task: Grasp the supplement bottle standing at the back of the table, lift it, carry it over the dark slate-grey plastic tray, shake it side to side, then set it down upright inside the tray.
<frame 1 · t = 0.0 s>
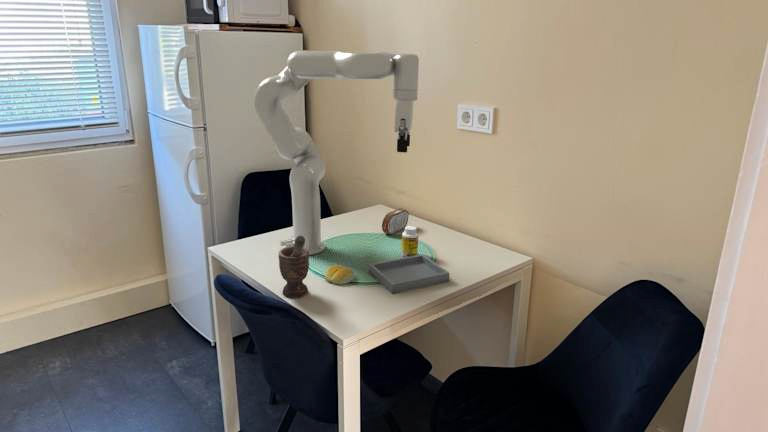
hand: (403, 148, 171), 37 cm above the table, tool pointing down, fingers open, 9 cm apart
supplement bottle: (409, 256, 183), on the table
mortar and pestle: (298, 295, 154), on the table
bread roll: (339, 279, 165), on the table
tray: (408, 277, 167), on the table
tin: (395, 231, 206), on the table
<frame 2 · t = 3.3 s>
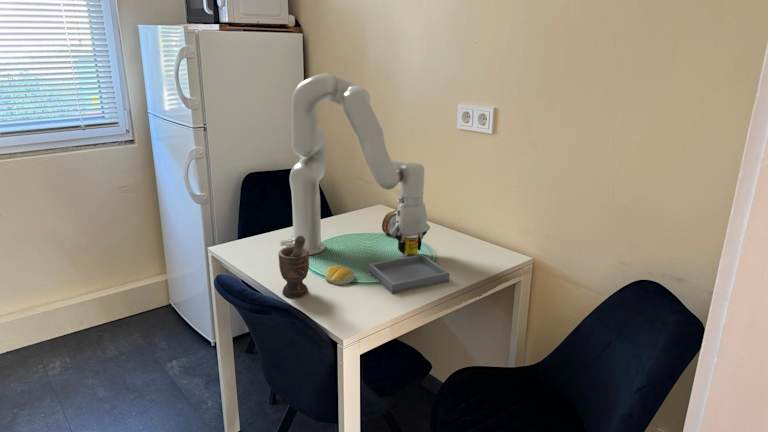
hand: (409, 249, 183), 2 cm above the table, tool pointing down, fingers closed on supplement bottle, 5 cm apart
supplement bottle: (409, 255, 183), on the table, touching gripper
everything else where it was.
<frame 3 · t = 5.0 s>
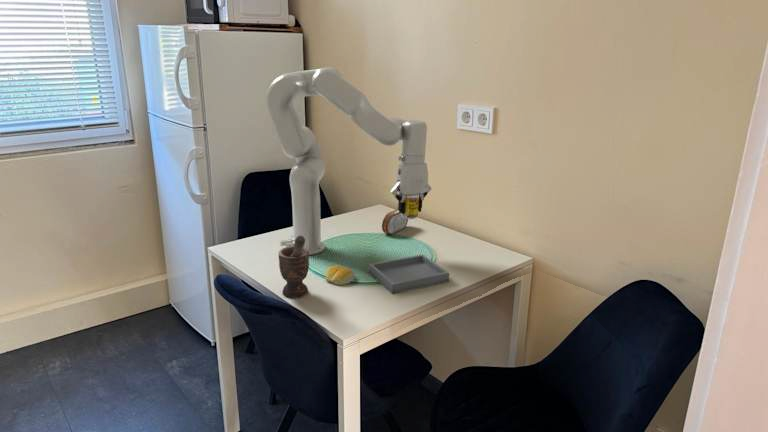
hand: (409, 211, 178), 16 cm above the table, tool pointing down, fingers closed on supplement bottle, 5 cm apart
supplement bottle: (409, 217, 179), point 14 cm above the table, touching gripper
everything else where it was.
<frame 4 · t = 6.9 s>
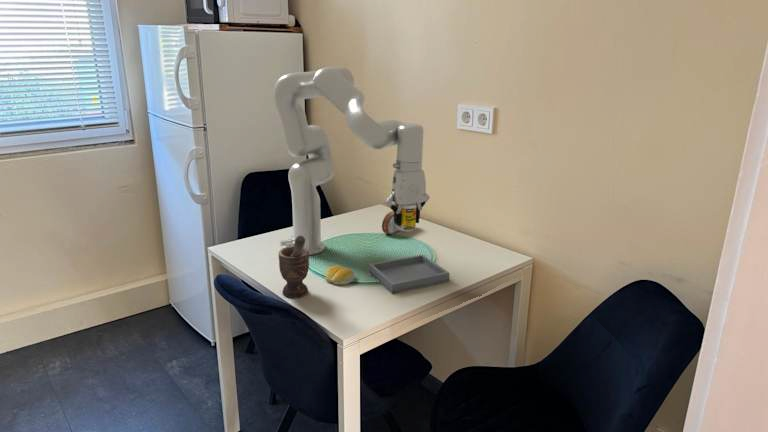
hand: (406, 222, 163), 17 cm above the table, tool pointing down, fingers closed on supplement bottle, 5 cm apart
supplement bottle: (406, 229, 164), point 15 cm above the table, touching gripper
everything else where it was.
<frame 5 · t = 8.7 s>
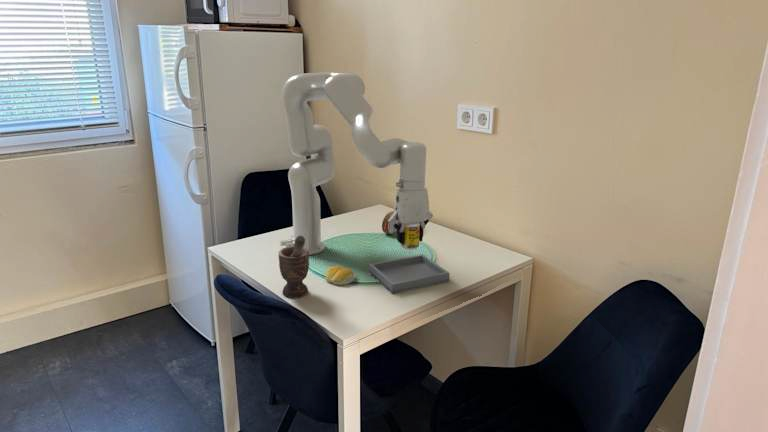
hand: (410, 240, 163), 12 cm above the table, tool pointing down, fingers closed on supplement bottle, 5 cm apart
supplement bottle: (409, 247, 163), point 10 cm above the table, touching gripper
everything else where it was.
when the fingers open (5 cm above the table, at t = 10.4 s): supplement bottle drops 2 cm, resting on tray.
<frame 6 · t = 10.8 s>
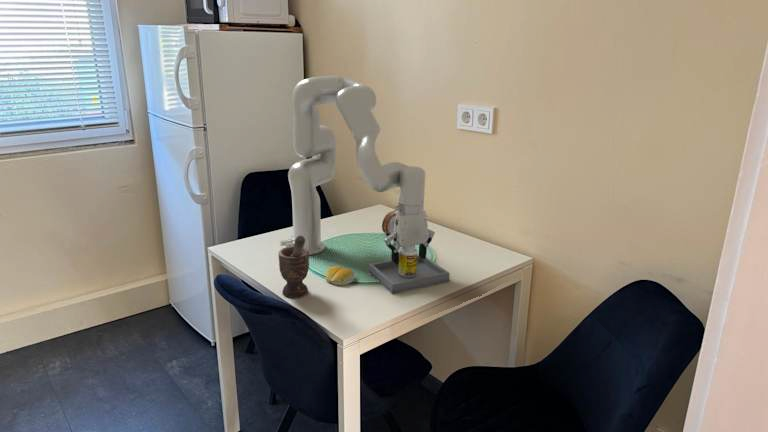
hand: (408, 260, 165), 6 cm above the table, tool pointing down, fingers open, 9 cm apart
supplement bottle: (407, 274, 166), point 1 cm above the table, touching tray
everything else where it was.
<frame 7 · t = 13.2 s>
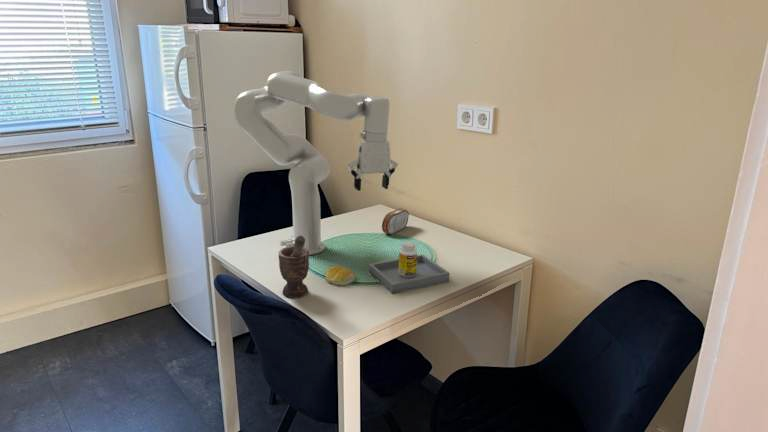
hand: (371, 188, 173), 24 cm above the table, tool pointing down, fingers open, 9 cm apart
nothing on the table moved.
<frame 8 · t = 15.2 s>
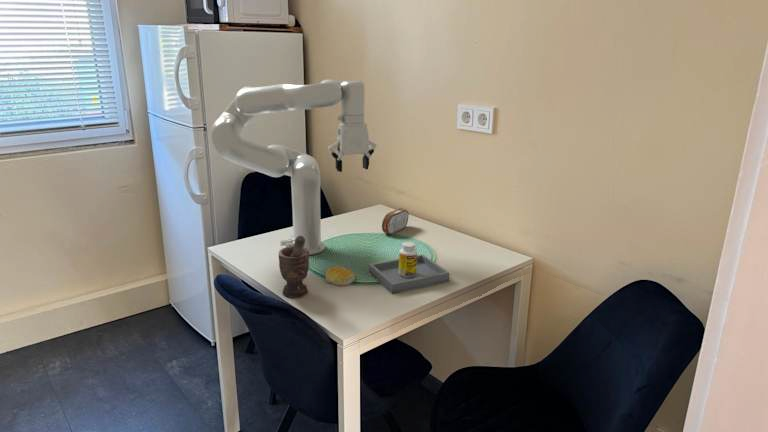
hand: (352, 169, 180), 28 cm above the table, tool pointing down, fingers open, 9 cm apart
nothing on the table moved.
at the end: supplement bottle inside the target area on the tray (0.4 cm from its centre), point 0.8 cm above the tray's base; supplement bottle tilted 0°; the gripper is holding nothing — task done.
